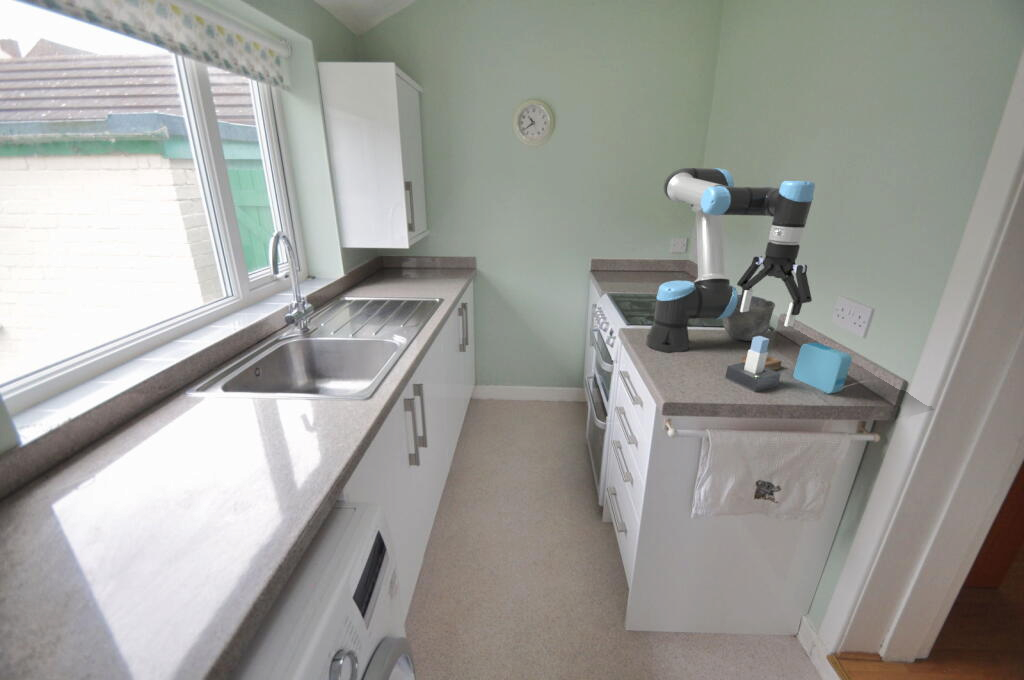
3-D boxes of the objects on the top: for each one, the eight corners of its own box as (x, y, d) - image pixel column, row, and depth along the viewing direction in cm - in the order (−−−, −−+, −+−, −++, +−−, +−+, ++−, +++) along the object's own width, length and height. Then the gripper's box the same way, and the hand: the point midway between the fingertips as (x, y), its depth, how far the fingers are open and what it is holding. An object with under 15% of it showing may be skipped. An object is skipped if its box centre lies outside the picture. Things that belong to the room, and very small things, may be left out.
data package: (841, 393, 124) (853, 355, 120) (830, 396, 123) (843, 357, 119) (801, 376, 135) (812, 340, 131) (791, 378, 133) (801, 342, 129)
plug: (742, 377, 130) (751, 336, 125) (750, 375, 131) (759, 335, 127) (752, 382, 127) (762, 341, 122) (761, 380, 128) (771, 339, 124)
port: (724, 379, 132) (727, 364, 130) (746, 374, 136) (750, 359, 134) (754, 393, 123) (758, 378, 121) (777, 387, 127) (781, 372, 126)
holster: (740, 364, 143) (742, 356, 142) (757, 360, 146) (758, 352, 145) (763, 373, 136) (765, 365, 135) (779, 369, 139) (781, 361, 138)
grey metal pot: (707, 336, 168) (714, 299, 163) (727, 327, 179) (734, 292, 174) (755, 349, 156) (765, 309, 150) (773, 339, 167) (783, 301, 161)
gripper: (733, 236, 124) (719, 307, 131) (824, 250, 103) (800, 334, 111) (751, 235, 127) (736, 304, 134) (842, 249, 106) (818, 330, 114)
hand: (765, 318), depth 122 cm, fingers open, 13 cm apart
